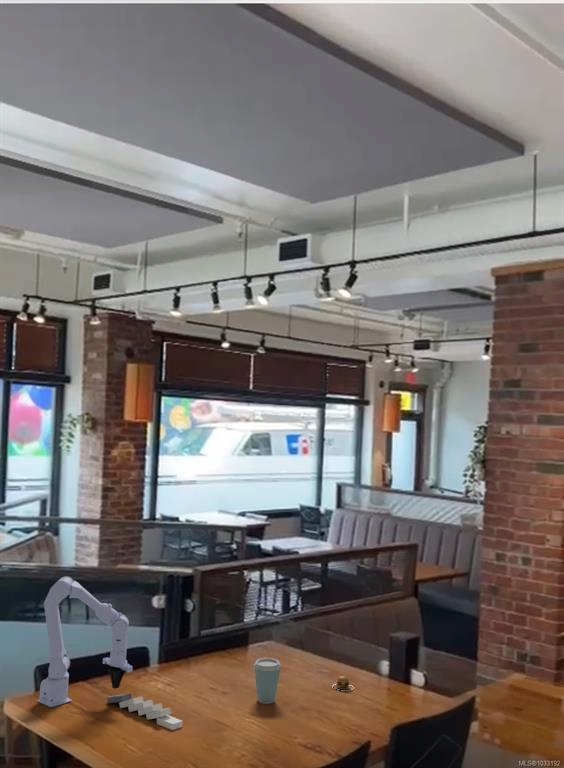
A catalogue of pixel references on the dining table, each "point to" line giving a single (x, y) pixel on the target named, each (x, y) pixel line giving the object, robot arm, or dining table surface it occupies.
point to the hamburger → (343, 683)
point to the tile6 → (169, 722)
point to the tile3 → (140, 705)
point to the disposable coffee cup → (267, 679)
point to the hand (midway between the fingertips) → (115, 687)
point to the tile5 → (158, 713)
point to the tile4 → (150, 709)
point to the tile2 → (131, 702)
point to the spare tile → (119, 698)
